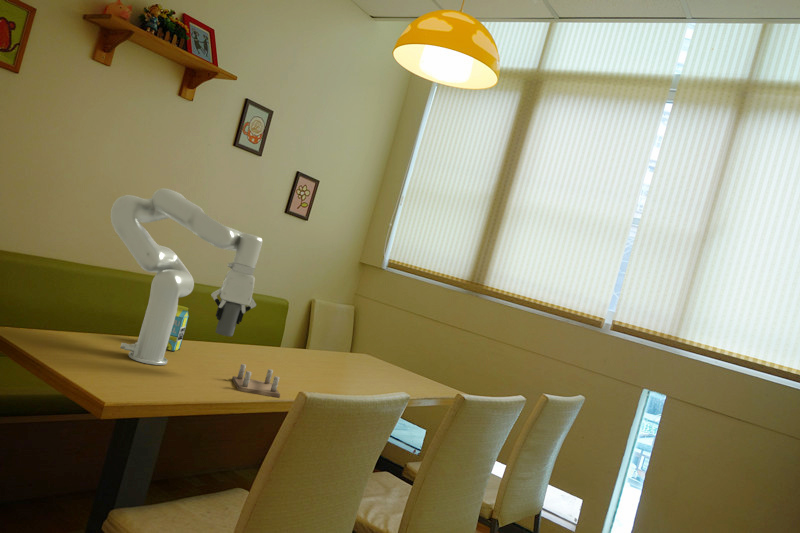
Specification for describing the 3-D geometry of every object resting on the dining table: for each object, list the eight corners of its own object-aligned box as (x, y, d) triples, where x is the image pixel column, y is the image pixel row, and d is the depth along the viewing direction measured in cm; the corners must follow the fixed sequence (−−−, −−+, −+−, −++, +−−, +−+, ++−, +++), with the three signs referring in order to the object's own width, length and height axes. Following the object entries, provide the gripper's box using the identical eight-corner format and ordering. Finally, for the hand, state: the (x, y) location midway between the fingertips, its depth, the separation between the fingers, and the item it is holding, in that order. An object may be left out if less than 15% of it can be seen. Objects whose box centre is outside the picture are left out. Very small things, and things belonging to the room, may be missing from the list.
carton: (153, 347, 231) (167, 300, 232) (161, 344, 239) (174, 299, 239) (172, 352, 231) (186, 305, 232) (179, 349, 239) (192, 304, 239)
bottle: (227, 336, 204) (240, 293, 205) (212, 331, 206) (224, 288, 206) (235, 336, 210) (248, 293, 210) (220, 331, 211) (232, 289, 212)
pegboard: (238, 390, 203) (243, 372, 203) (231, 379, 215) (236, 362, 216) (279, 397, 209) (284, 379, 209) (270, 386, 221) (275, 369, 221)
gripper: (218, 264, 201) (203, 317, 201) (269, 277, 208) (254, 329, 208) (215, 262, 208) (200, 313, 208) (265, 275, 215) (250, 324, 215)
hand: (227, 320), depth 208 cm, fingers closed on bottle, 5 cm apart
